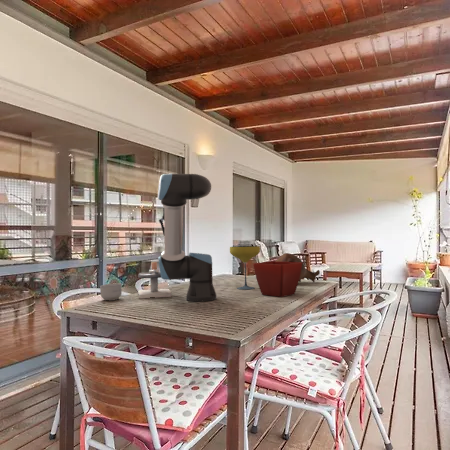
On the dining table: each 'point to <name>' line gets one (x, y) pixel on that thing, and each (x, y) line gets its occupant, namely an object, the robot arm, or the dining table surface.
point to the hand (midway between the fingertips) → (170, 248)
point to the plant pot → (277, 277)
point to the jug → (304, 272)
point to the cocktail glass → (245, 258)
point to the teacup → (111, 291)
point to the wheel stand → (154, 290)
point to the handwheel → (151, 272)
